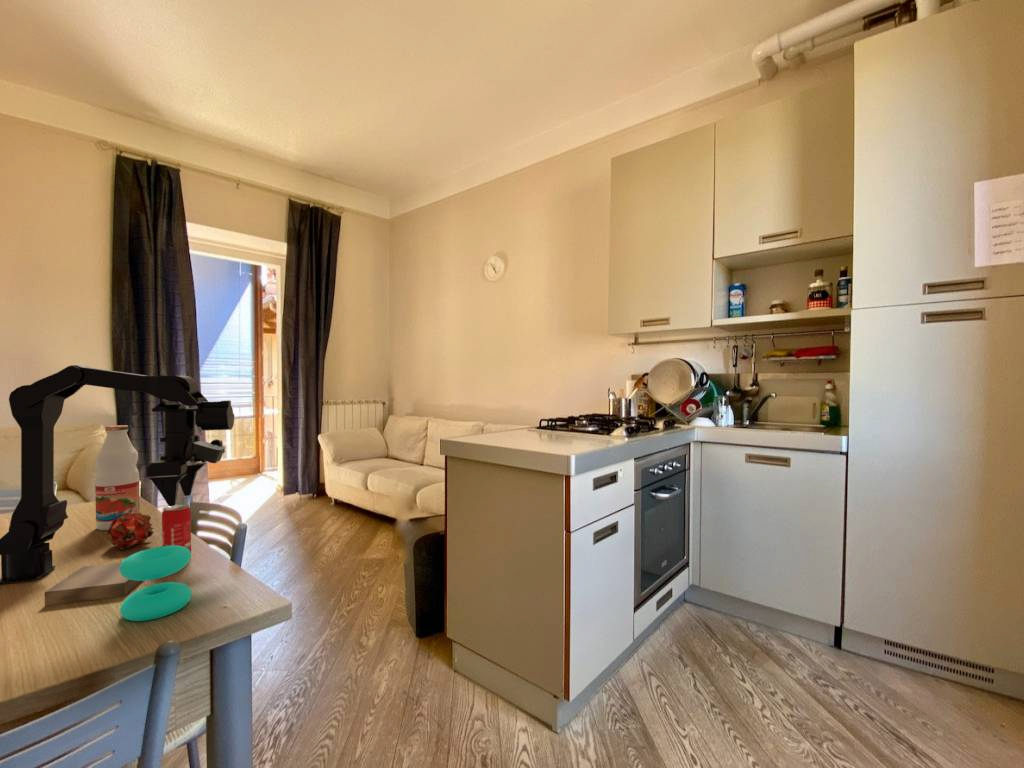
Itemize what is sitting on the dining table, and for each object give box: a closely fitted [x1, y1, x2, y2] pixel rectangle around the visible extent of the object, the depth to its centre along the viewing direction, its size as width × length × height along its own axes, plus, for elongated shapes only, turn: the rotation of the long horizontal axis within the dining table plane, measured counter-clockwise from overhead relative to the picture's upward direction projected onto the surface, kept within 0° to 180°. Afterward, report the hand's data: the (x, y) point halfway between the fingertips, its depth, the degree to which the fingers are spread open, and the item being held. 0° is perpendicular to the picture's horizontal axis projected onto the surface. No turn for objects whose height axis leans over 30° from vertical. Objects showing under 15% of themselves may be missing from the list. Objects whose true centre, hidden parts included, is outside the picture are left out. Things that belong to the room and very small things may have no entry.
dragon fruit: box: [106, 511, 155, 550], centre depth 113 cm, size 8×8×12 cm
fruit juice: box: [94, 424, 141, 531], centre depth 129 cm, size 9×9×28 cm
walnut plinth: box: [44, 561, 142, 607], centre depth 90 cm, size 12×12×2 cm
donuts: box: [119, 545, 193, 622], centre depth 81 cm, size 10×10×10 cm
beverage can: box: [161, 503, 192, 553], centre depth 103 cm, size 5×5×12 cm
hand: (180, 500), depth 104 cm, fingers open, 9 cm apart
